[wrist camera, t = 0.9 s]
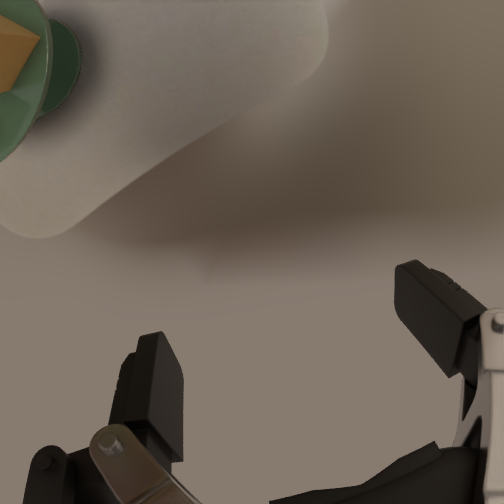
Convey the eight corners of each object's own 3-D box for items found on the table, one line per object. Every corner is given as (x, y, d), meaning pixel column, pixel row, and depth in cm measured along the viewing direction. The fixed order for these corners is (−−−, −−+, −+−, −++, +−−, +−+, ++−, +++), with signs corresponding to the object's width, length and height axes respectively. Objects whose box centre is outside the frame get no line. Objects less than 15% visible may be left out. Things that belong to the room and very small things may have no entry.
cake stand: (-32, 100, 19) (-105, 130, 9) (31, -12, 15) (-34, -35, 5) (51, 154, 25) (-4, 207, 16) (125, 41, 22) (91, 27, 12)
